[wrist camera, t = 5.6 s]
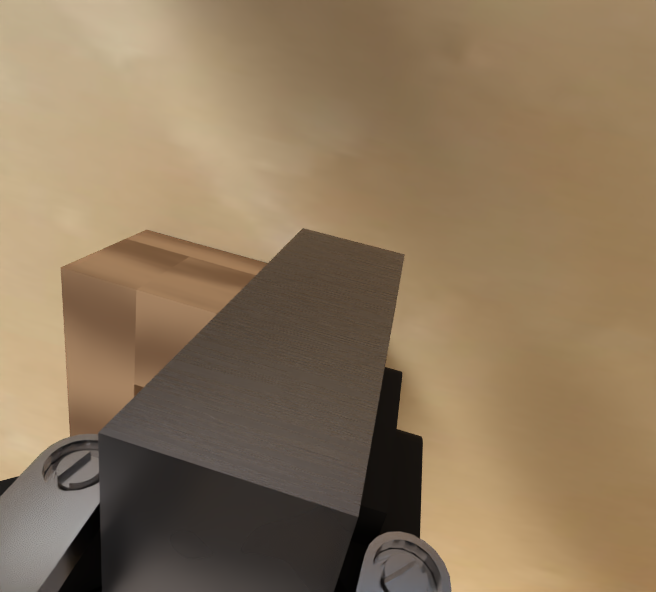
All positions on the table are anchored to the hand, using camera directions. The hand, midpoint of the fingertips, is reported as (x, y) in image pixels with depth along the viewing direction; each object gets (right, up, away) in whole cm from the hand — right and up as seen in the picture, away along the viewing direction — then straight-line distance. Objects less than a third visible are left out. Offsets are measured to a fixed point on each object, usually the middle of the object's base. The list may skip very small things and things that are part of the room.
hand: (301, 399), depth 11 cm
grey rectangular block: (+1, +1, +3) cm, 4 cm away
